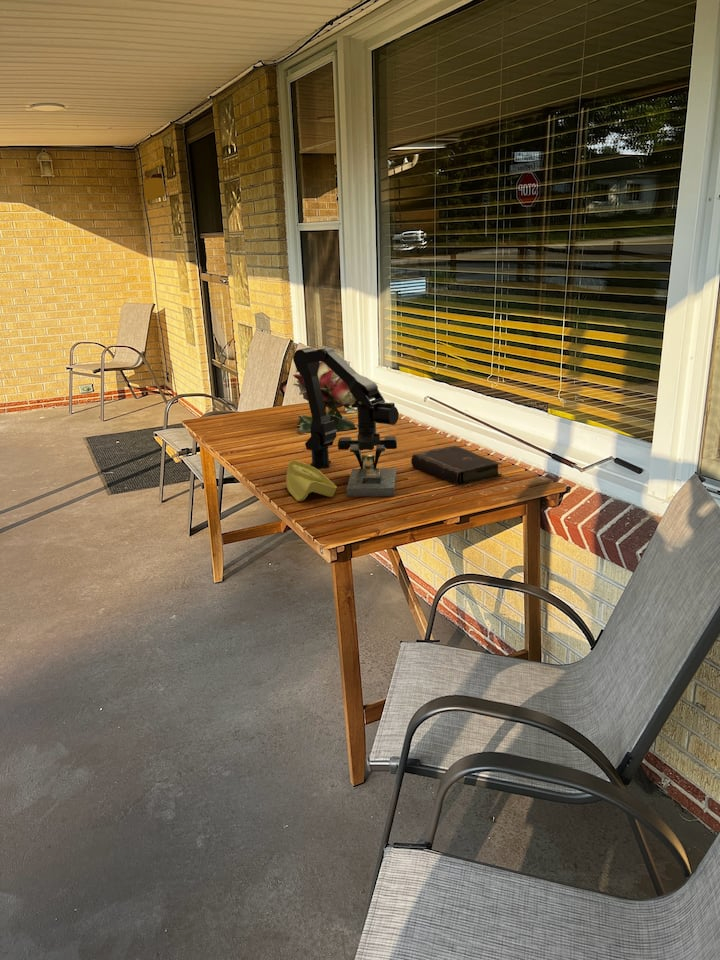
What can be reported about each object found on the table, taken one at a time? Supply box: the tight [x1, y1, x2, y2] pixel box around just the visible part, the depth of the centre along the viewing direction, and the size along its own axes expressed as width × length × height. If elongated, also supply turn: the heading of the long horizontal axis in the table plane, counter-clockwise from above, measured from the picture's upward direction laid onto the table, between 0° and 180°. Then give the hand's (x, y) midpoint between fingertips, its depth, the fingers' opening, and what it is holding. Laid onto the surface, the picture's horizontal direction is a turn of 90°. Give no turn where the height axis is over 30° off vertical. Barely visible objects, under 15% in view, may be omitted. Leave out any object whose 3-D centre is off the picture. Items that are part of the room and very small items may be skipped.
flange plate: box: [346, 467, 397, 497], centre depth 223 cm, size 20×14×3 cm
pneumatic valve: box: [343, 405, 358, 414], centre depth 322 cm, size 6×12×12 cm, turn 101°
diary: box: [410, 445, 503, 487], centre depth 234 cm, size 19×25×5 cm
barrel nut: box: [361, 453, 375, 469], centre depth 235 cm, size 4×4×6 cm
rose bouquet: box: [292, 361, 358, 434], centre depth 297 cm, size 26×29×30 cm
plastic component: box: [285, 459, 338, 502], centre depth 221 cm, size 20×8×10 cm
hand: (368, 468), depth 235 cm, fingers closed on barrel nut, 4 cm apart
